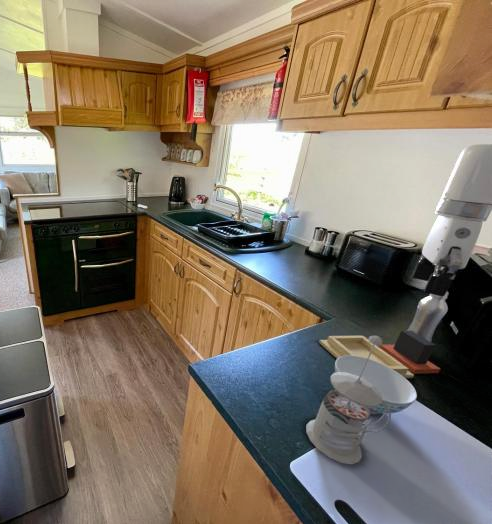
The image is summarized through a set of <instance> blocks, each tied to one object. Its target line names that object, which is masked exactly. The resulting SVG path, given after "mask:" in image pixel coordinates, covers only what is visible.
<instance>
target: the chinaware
mask: <svg viewBox="0 0 492 524" xmlns="http://www.w3.org/2000/svg"><path fill="white" fill-rule="evenodd" d="M366 360H367V358H364V357H360V356H352V355H346V356H341V357H339V358H338V359H337V358H336V360H335V361H334V362H335V363H334V373H337V372H346V373H350V374H353V375H356V376H359V377H360V374H361V372H362V370H363V367H364V365H365V363H366ZM361 377H362V378H363V379H365V380H366V381H367V382H369V383H370V384H372V385H373V386H374V387H375V388H376V389H377V390H378V391H379V392H380V393H381V396H382V400H383V401H384V403H385V405H386V407H387V408H388V409H389V411H390V414H395V413H399V412H402V411H403V410H404V411H405V410H406V409H407V408H408V407H410V406H412V404H414V403H415V402H416V400H417V398H418V393H417V391H416V389H415V387H414V386H413V384H412V383H411V382H410V381H409V380H408V378H404V377H403V376H402V375H400V374H399V373H397V372H396V371H394V370H393V369H391V368H389V367H387V366H385V365H383V364H381V363H379V362H376V361H374V360H371V359H368V362H367V364H366V366H365V369H364V371H363V373H362V375H361ZM381 403H382V404H383V402H382V401H381ZM367 407H368V408H369V409H370V412H371V415H377V414H383V413H384V411H385V408H384V406H383V405H381V404H379V405H378V406H377V407H375V406H372V407H371V406H367ZM387 414H388V415H389V413H388V410H387V409H386V413H385V415H387Z"/></svg>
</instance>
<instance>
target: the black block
mask: <svg viewBox="0 0 492 524" xmlns="http://www.w3.org/2000/svg"><path fill="white" fill-rule="evenodd" d="M378 347H379V348H380V349H382V350H383V351H385V352H386V353H387V354H389V355H390V356H392V357H393V358H394V359H396V360H397V361H399V362H400V363H401V364H403V365H404V366H406V367H407V368H408V371H409V372H411V373H412V374H413V375H417V374H418V375H419V374H420V375H421V374H439V372H440V370H441V368H440V367H439V366H437V365H436V364H435V363H433V362H431V361H429V360H430V357H431V356H432V354H433V352H434V350H435V348H436V344H435V343H433V342H432V341H431V342H430V341H428V340H426V339H425V338H423V337H421V336H420V335H418V334H416V333H414V332H413V331H407V330H400V333H399V335H398V337H397V339H396V341H395V343H393V344H391V343H390V344H382V345H380V346H378Z"/></svg>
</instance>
